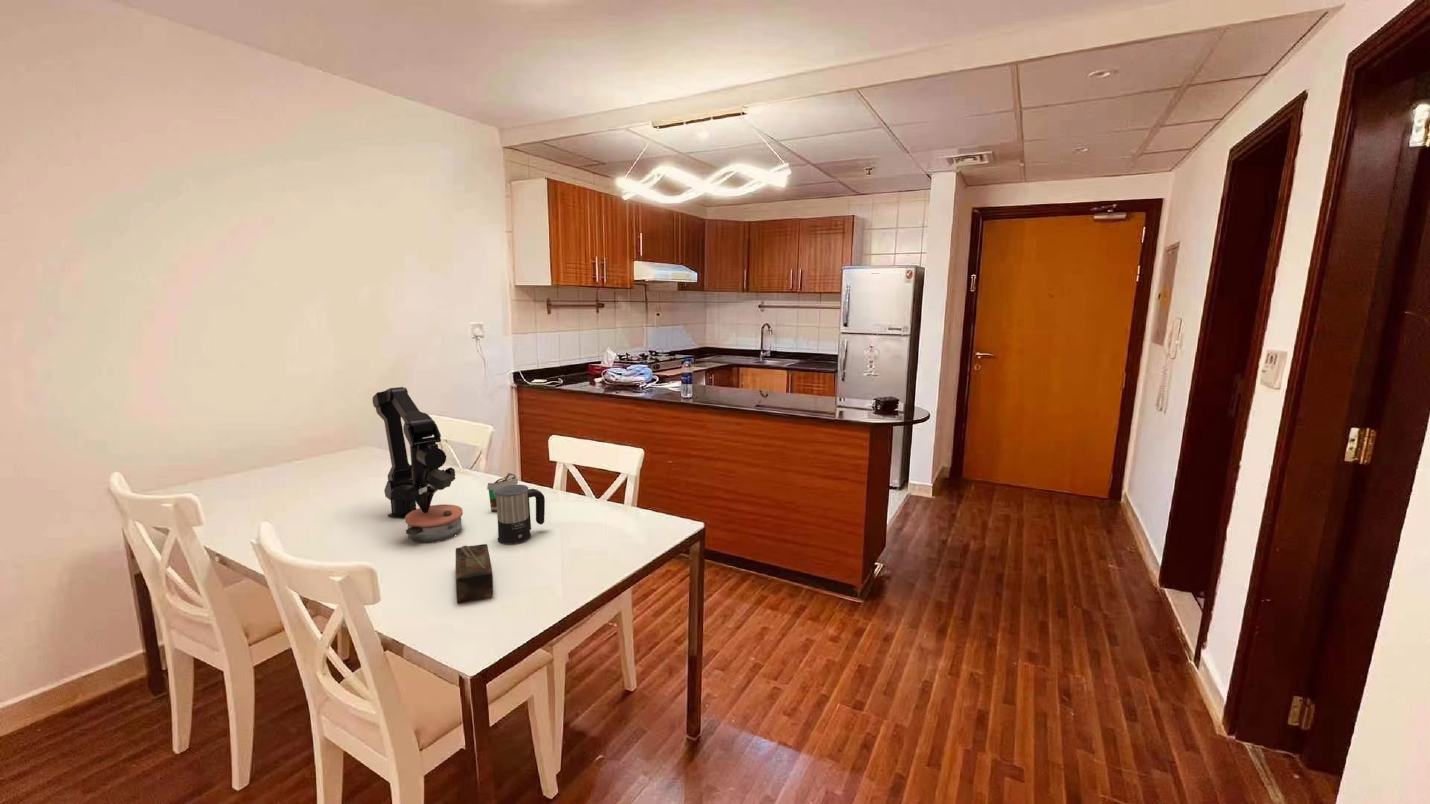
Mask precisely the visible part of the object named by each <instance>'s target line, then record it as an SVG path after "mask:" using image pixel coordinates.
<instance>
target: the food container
mask: <svg viewBox="0 0 1430 804" xmlns="http://www.w3.org/2000/svg"><path fill="white" fill-rule="evenodd" d="M514 484H515V485H516V484H519V480H518V477H517V475H516V474H515V473H511V472H507V475H506V476H504V477H502V478H498V479H497V480H495V482H488V483H487V486H486V487H487V488H486V490H487V491H488V495H489V503H490V510H491V513H497V505H496V495H495V490H496V489H497V488H500V487H503V486H506V485H514Z"/></svg>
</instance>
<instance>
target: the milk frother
mask: <svg viewBox="0 0 1430 804" xmlns="http://www.w3.org/2000/svg"><path fill="white" fill-rule="evenodd" d="M495 495H496V505H497V512H496V518H497V536H498V537H497V542H498V543H500V544H504V545H516V544H520V543H521V544H522V543H525V542H527V541H529V540H530V538H532V533H531V530H532V524H531V510H530V509H531V508H530V506H531V505H530V498H535V521H536V523H537V524H538V525H543V524H544V523H545V515H546V514H545V513H546V512H545V511H546V510H545V507H546V506H545V505H546V504H545V502H546V500H545V499H546V498H545V496H544V494H543V493H542V492H541V491H540V490H538V489H537V488H536V489H535V488H529V486H528V485H524V484H519V483H517V484H516V485H515V484H514V485H506V486H503V487H500V488H497V489H496V490H495Z"/></svg>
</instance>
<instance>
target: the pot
mask: <svg viewBox="0 0 1430 804" xmlns="http://www.w3.org/2000/svg"><path fill="white" fill-rule="evenodd" d="M462 525H463V524H462V516H461V517H460V518H458V519H457V520H455V521H452V522H450V523H446V524H443V525H438V526H431V527H415V526H410V525H408V524H407V529H406V530H405V534H406V535H408V539H409V541H411V542H413V543H417V544H432V542H433V543H438V542H437V541H440V542H445V541H447V540H450V539H453V538H455V537H456V536H455V535H457V536H458V535H460V534H461V533H462V531H463V527H462ZM461 530H462V531H461ZM460 532H461V533H460ZM459 533H460V534H459ZM454 536H455V537H454ZM452 537H453V538H452ZM449 538H450V539H449ZM446 539H447V540H446Z"/></svg>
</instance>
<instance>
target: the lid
mask: <svg viewBox="0 0 1430 804" xmlns="http://www.w3.org/2000/svg"><path fill="white" fill-rule="evenodd" d="M463 513H464V512H463V508H462V507H461V506H459V505H455V504H445V503H444V504H434V505H430V507H429V511H428V512H427V513H423V512H422V510H421V509H420V507H419V508H416V510H414V511H412V512H410V513H408V514H407V515H406V516H405V518H404V522H405V523H406V525H407V526H408V525H410V526H415V527H431V526H438V525H443V524H446V523H450V522H452V521H455V520H457V519H458V518H460V517H461V518H462V516H463Z"/></svg>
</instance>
